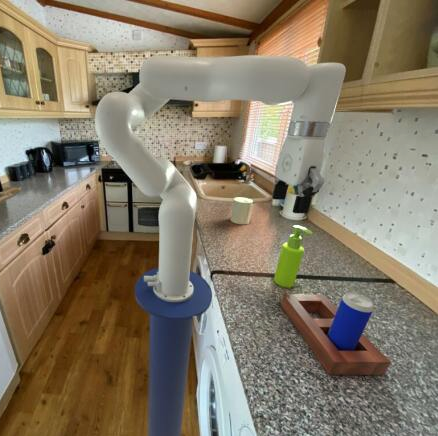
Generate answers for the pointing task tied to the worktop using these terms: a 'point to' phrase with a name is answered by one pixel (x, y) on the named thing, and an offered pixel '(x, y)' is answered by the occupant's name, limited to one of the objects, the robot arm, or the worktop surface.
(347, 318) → the beverage can
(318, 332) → the holder
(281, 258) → the soap dispenser
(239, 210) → the can
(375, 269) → the worktop surface
